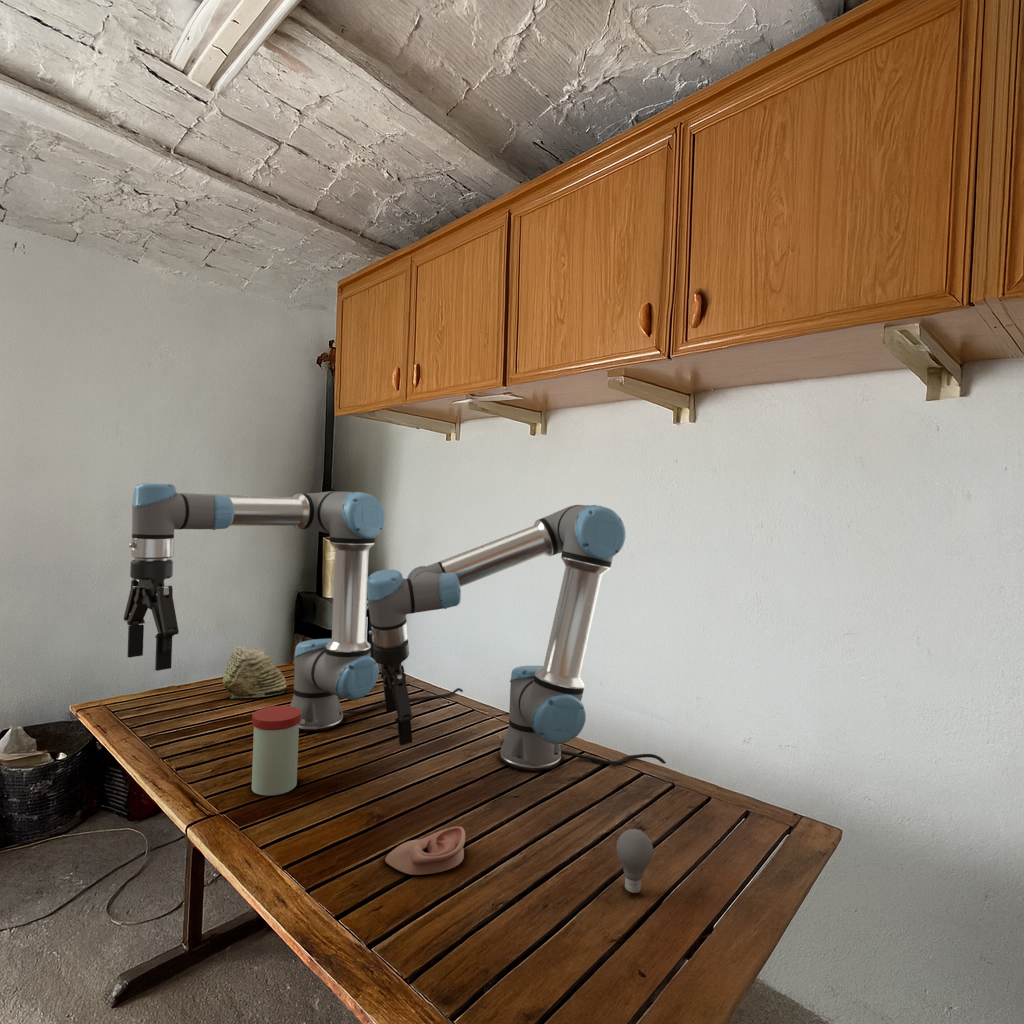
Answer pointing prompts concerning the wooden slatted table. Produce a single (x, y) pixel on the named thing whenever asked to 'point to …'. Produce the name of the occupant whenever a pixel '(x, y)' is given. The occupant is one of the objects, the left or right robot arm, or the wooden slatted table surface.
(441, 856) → the anatomical model
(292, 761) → the jar
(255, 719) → the lid
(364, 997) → the wooden slatted table surface
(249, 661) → the fossil
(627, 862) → the light bulb
